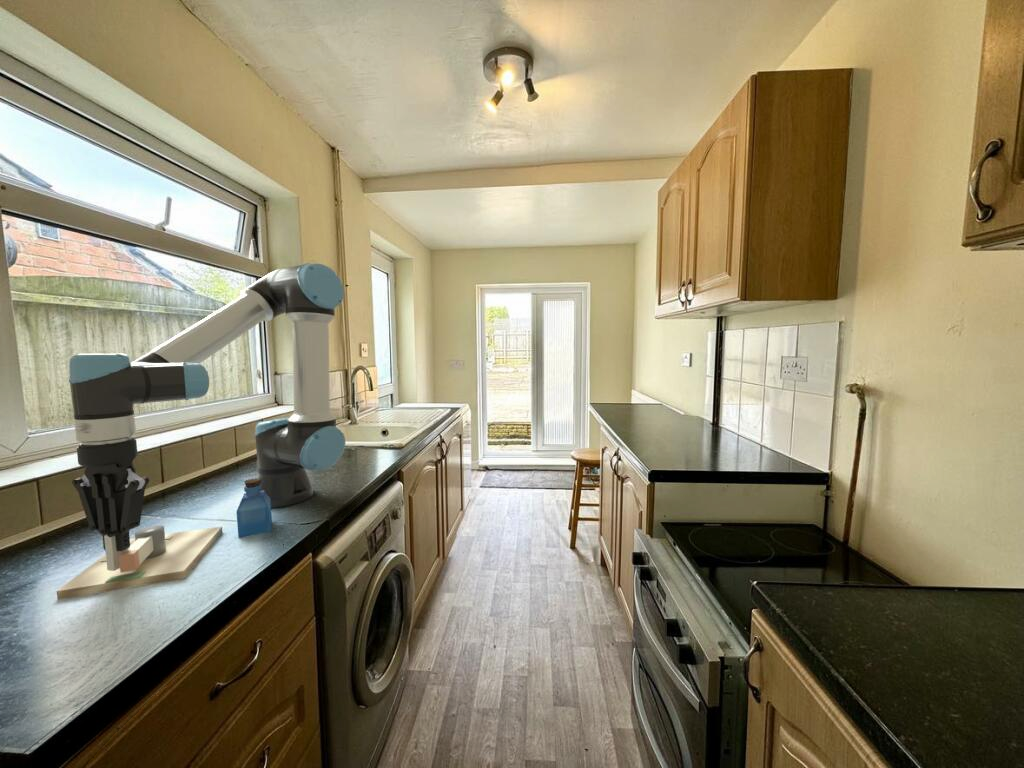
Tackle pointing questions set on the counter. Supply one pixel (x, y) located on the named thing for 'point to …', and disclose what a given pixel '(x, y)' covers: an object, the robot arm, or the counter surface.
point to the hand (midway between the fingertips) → (118, 566)
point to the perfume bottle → (254, 510)
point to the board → (146, 565)
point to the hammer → (143, 547)
